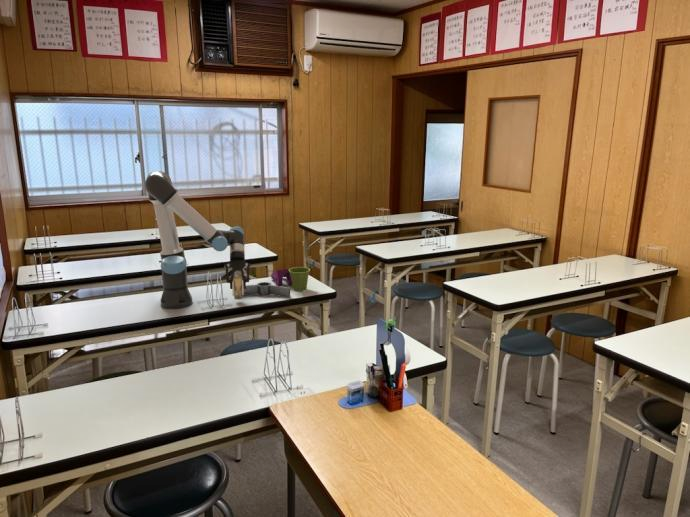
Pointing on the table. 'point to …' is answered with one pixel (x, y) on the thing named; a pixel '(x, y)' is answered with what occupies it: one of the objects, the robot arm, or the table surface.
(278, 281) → the purple irregular piece
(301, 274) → the plant pot
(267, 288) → the steel hinge
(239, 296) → the hinge pin
